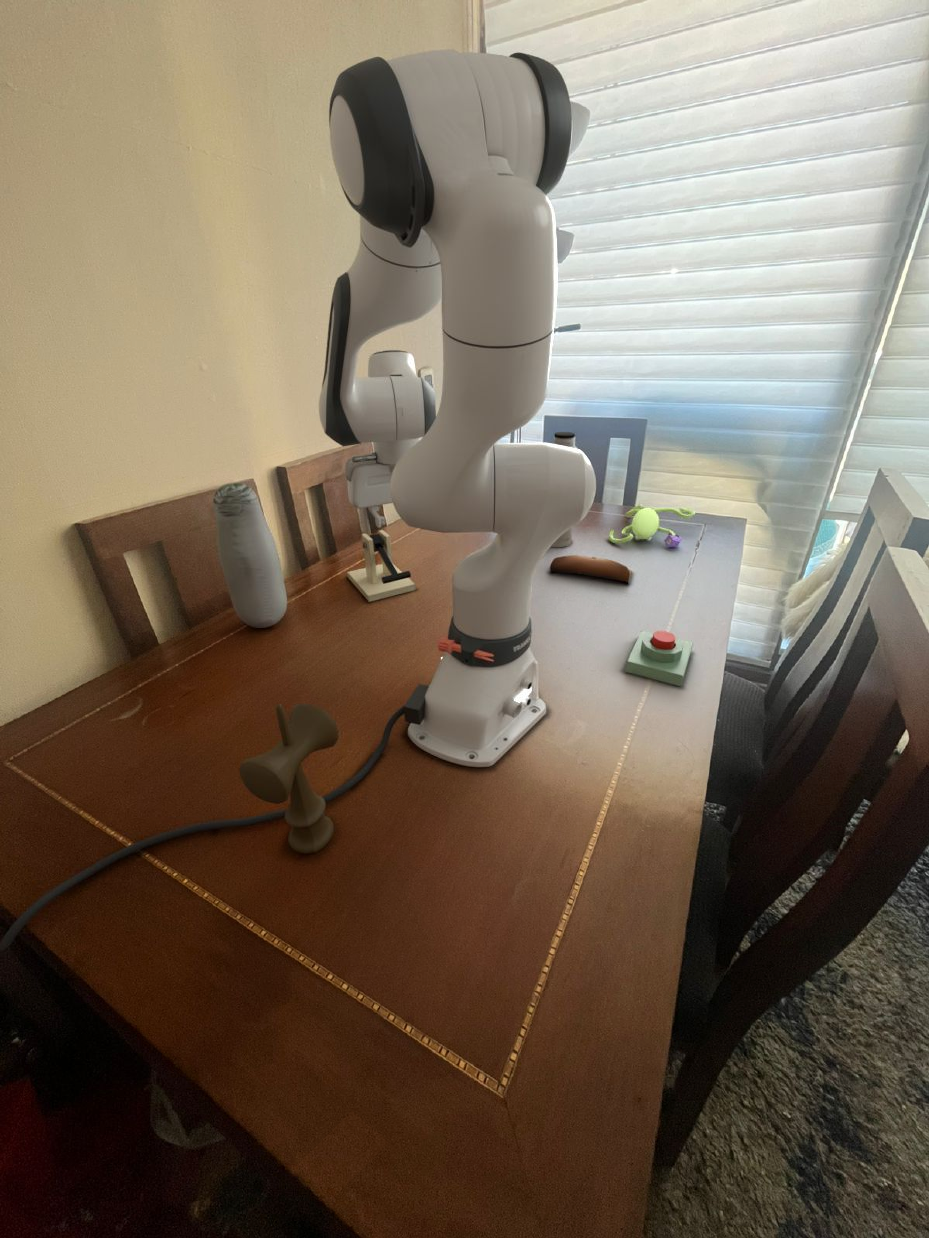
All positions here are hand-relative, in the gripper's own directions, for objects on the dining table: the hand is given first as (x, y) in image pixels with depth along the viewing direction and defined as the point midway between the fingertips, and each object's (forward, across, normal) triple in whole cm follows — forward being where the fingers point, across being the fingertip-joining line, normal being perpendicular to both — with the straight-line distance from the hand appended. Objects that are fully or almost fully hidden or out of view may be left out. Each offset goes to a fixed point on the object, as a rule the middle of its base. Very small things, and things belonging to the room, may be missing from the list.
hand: (403, 522), depth 101 cm
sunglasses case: (+18, +43, -9) cm, 47 cm away
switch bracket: (+18, -2, +12) cm, 21 cm away
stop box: (+18, +28, -43) cm, 54 cm away
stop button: (+15, +28, -43) cm, 53 cm away
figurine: (+17, +74, +2) cm, 76 cm away
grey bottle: (+18, -28, +7) cm, 34 cm away
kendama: (+19, -34, -47) cm, 61 cm away
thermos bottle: (+17, +48, +11) cm, 52 cm away
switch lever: (+11, -2, +7) cm, 13 cm away
